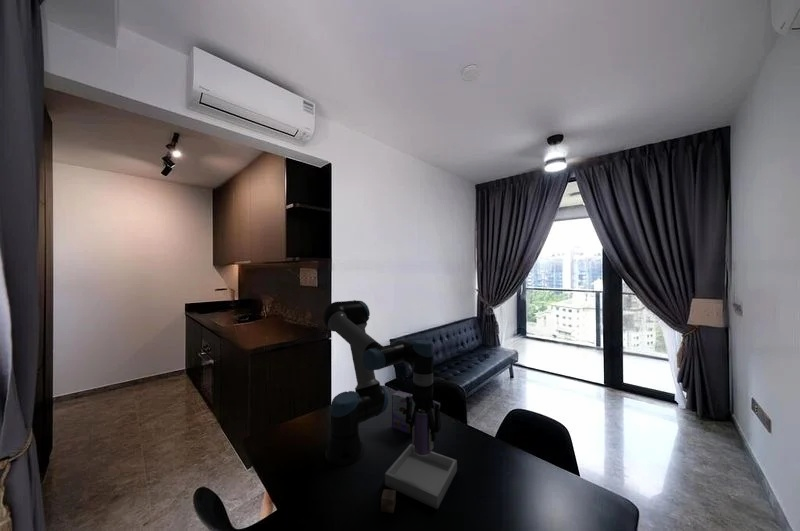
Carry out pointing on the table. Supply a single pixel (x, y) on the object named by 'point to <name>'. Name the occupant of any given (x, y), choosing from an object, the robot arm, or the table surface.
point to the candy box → (400, 411)
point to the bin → (422, 476)
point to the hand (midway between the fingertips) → (422, 446)
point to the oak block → (388, 501)
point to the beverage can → (421, 433)
